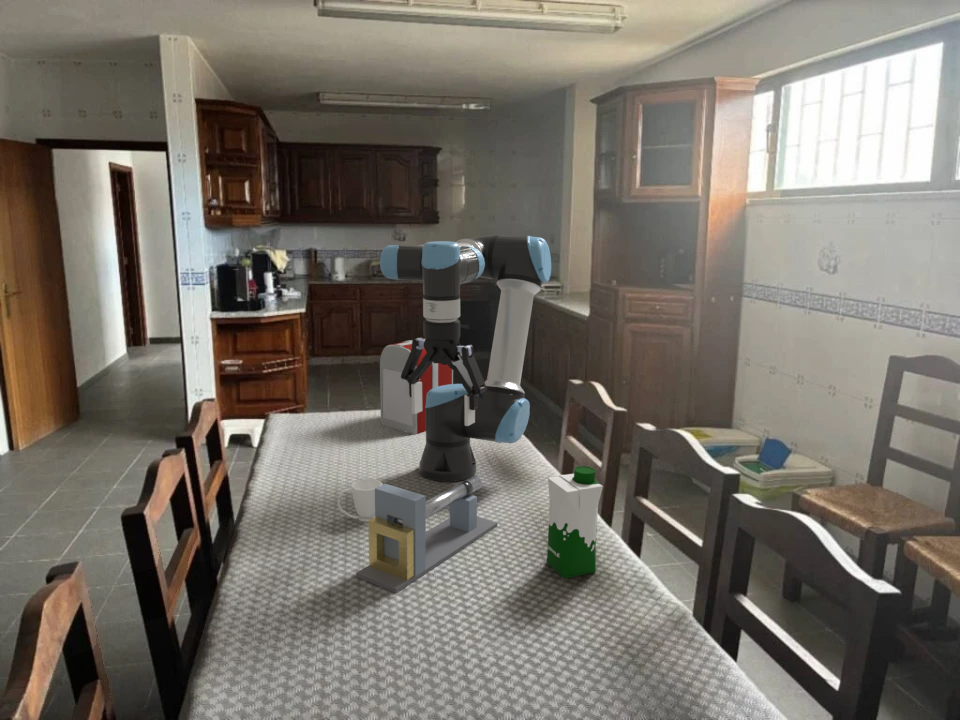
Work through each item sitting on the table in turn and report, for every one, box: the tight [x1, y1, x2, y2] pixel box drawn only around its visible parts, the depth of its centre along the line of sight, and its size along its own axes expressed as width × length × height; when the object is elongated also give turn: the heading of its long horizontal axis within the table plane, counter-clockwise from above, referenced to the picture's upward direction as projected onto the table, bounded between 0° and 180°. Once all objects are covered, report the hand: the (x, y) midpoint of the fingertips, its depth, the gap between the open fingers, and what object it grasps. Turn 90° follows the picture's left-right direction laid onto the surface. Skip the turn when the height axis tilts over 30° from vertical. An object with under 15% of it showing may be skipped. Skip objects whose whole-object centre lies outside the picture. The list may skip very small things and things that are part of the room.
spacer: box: [368, 517, 414, 581], centre depth 134 cm, size 2×10×10 cm, turn 56°
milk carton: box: [546, 465, 604, 580], centre depth 137 cm, size 9×9×20 cm
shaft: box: [393, 475, 483, 526], centre depth 145 cm, size 26×3×3 cm, turn 146°
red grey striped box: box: [379, 337, 454, 435], centre depth 226 cm, size 17×18×27 cm
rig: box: [355, 483, 498, 594], centre depth 143 cm, size 34×10×16 cm, turn 146°
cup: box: [337, 478, 383, 523], centre depth 158 cm, size 7×10×8 cm
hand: (442, 418), depth 149 cm, fingers open, 13 cm apart
